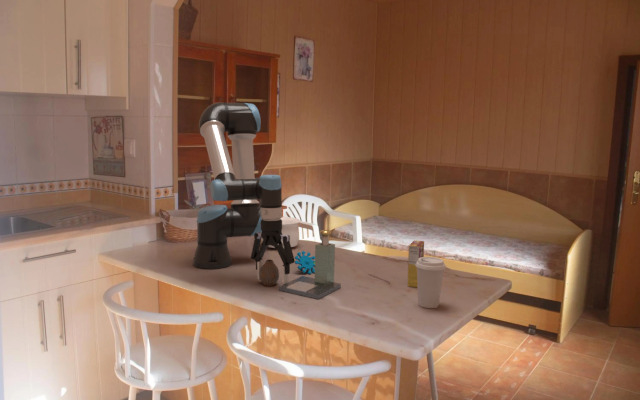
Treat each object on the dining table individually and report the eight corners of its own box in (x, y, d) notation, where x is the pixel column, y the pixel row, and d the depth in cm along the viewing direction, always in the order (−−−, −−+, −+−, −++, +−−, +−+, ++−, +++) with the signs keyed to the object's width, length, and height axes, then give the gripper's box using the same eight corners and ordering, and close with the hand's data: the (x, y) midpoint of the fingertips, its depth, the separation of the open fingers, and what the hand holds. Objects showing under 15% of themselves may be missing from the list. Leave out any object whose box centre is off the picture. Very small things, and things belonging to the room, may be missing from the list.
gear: (299, 272, 206) (293, 249, 211) (292, 280, 210) (286, 257, 215) (324, 272, 212) (317, 250, 217) (317, 280, 216) (310, 258, 221)
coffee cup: (410, 299, 183) (412, 256, 181) (438, 299, 184) (440, 256, 181) (417, 310, 174) (420, 264, 171) (447, 309, 174) (450, 264, 172)
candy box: (411, 279, 206) (413, 239, 203) (423, 281, 204) (425, 241, 202) (406, 286, 198) (408, 244, 195) (418, 287, 196) (420, 246, 194)
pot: (278, 254, 238) (278, 226, 236) (249, 247, 248) (249, 221, 246) (310, 245, 255) (310, 219, 253) (282, 239, 266) (282, 215, 264)
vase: (271, 288, 192) (271, 264, 190) (255, 284, 195) (255, 260, 194) (282, 283, 197) (283, 259, 196) (267, 280, 201) (267, 256, 200)
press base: (278, 290, 189) (279, 246, 187) (302, 279, 202) (303, 238, 200) (318, 299, 181) (319, 253, 179) (340, 287, 194) (341, 244, 192)
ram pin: (317, 261, 192) (318, 231, 190) (322, 259, 195) (323, 229, 193) (326, 263, 190) (327, 232, 188) (332, 260, 193) (333, 230, 192)
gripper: (239, 218, 195) (241, 279, 198) (292, 223, 183) (293, 287, 186) (252, 215, 201) (254, 274, 204) (304, 219, 190) (305, 282, 193)
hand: (272, 280), depth 195 cm, fingers open, 10 cm apart
